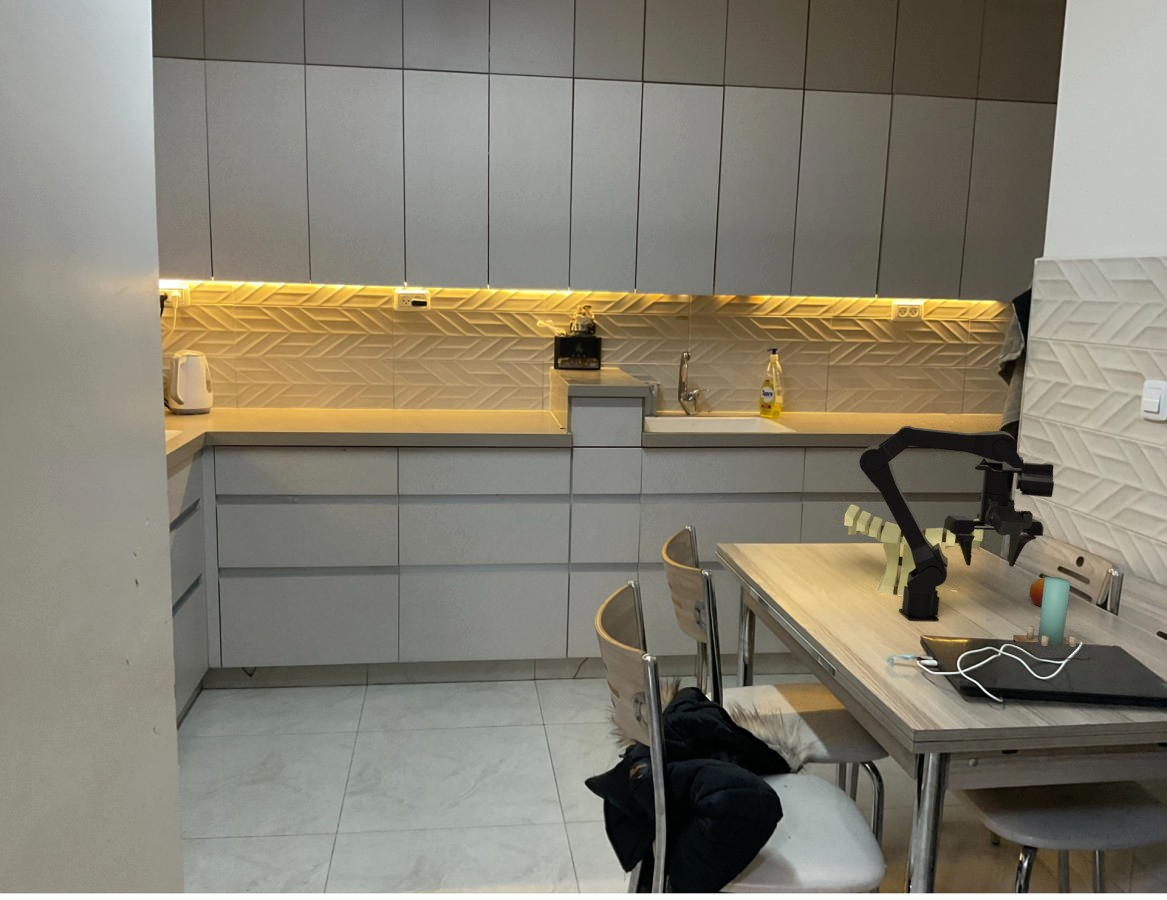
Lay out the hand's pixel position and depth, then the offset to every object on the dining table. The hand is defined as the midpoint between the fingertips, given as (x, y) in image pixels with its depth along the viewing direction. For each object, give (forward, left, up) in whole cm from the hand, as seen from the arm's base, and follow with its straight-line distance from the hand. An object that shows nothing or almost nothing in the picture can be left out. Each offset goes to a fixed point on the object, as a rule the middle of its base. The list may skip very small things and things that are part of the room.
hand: (989, 565), depth 203 cm
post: (+7, -14, -12) cm, 19 cm away
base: (+7, -14, -13) cm, 20 cm away
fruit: (+22, +15, -13) cm, 30 cm away
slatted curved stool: (-6, +27, -13) cm, 31 cm away
